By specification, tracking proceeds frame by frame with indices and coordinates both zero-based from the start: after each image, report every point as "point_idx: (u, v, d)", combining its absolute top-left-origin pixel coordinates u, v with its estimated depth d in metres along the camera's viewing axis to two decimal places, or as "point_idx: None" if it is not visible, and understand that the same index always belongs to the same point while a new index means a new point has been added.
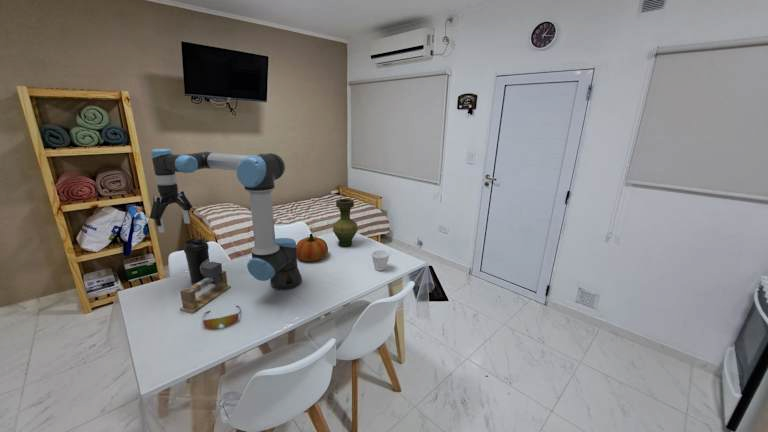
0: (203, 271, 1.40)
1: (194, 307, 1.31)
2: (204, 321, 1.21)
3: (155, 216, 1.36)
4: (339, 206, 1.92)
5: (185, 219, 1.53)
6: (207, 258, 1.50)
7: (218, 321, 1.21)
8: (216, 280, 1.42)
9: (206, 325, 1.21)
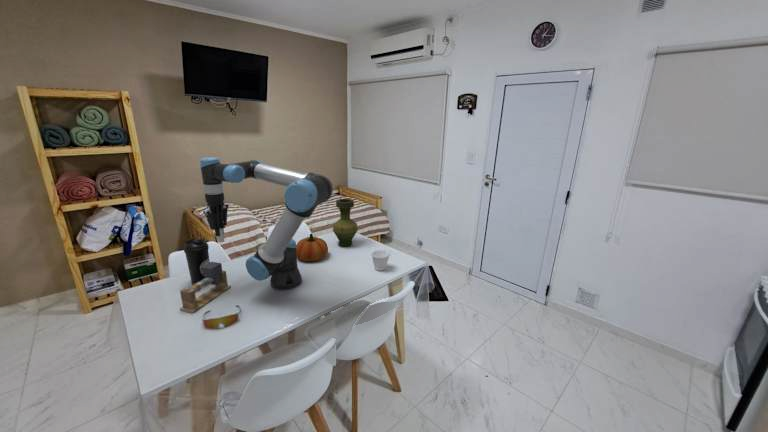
0: (203, 271, 1.40)
1: (194, 307, 1.31)
2: (204, 321, 1.21)
3: (215, 227, 1.40)
4: (339, 206, 1.92)
5: None
6: (207, 258, 1.50)
7: (218, 320, 1.21)
8: (216, 280, 1.42)
9: (206, 325, 1.21)
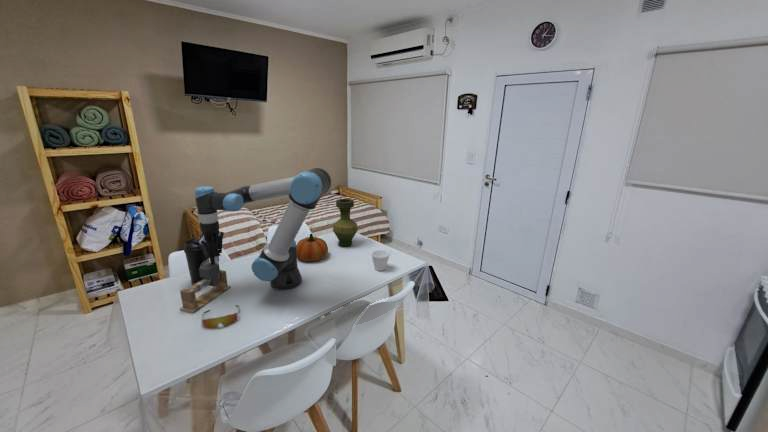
0: (201, 272, 1.38)
1: (194, 307, 1.31)
2: (203, 320, 1.21)
3: (210, 256, 1.39)
4: (339, 206, 1.92)
5: None
6: (207, 258, 1.50)
7: (217, 320, 1.21)
8: (214, 281, 1.41)
9: (206, 324, 1.21)
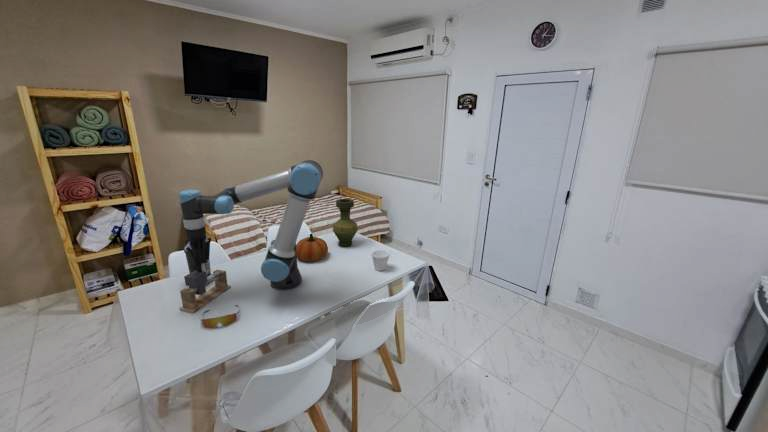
0: (186, 281, 1.31)
1: (194, 307, 1.31)
2: (202, 320, 1.21)
3: (196, 263, 1.32)
4: (339, 206, 1.92)
5: None
6: None
7: (216, 320, 1.21)
8: (200, 290, 1.34)
9: (205, 324, 1.21)
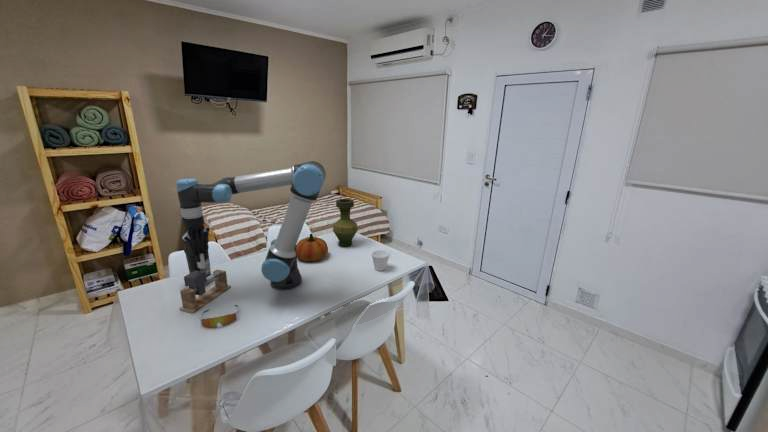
0: (186, 281, 1.31)
1: (194, 307, 1.31)
2: (202, 320, 1.21)
3: (194, 253, 1.30)
4: (339, 206, 1.92)
5: None
6: (207, 258, 1.50)
7: (215, 320, 1.21)
8: (200, 290, 1.33)
9: (204, 324, 1.22)
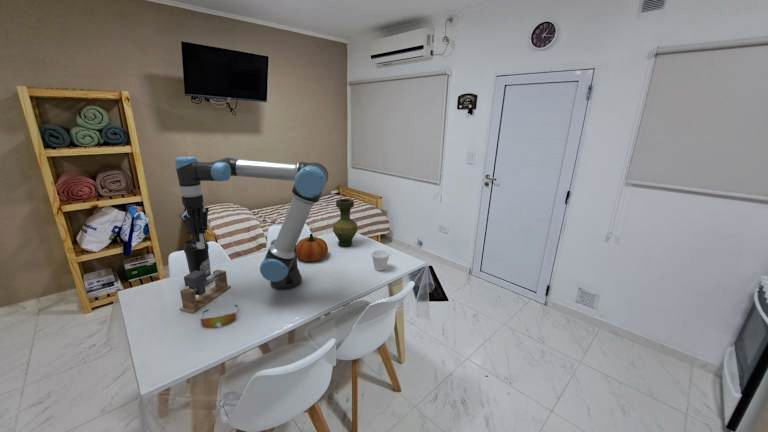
0: (186, 281, 1.31)
1: (194, 307, 1.31)
2: (202, 320, 1.21)
3: (194, 232, 1.28)
4: (339, 206, 1.92)
5: None
6: (207, 258, 1.50)
7: (215, 320, 1.21)
8: (200, 290, 1.33)
9: (204, 324, 1.22)
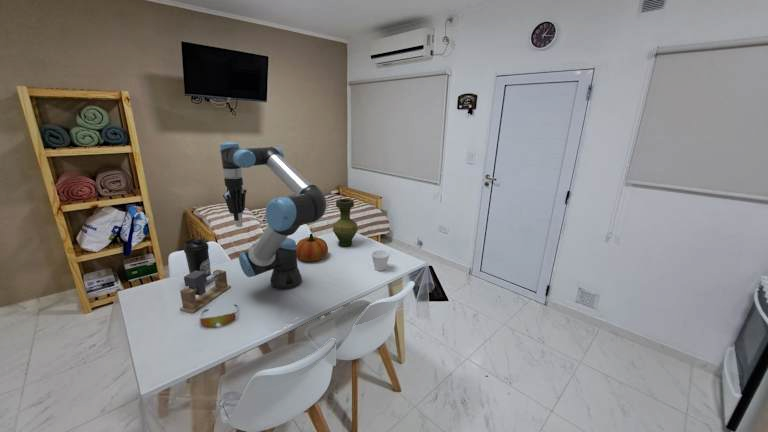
0: (186, 281, 1.31)
1: (194, 307, 1.31)
2: (201, 319, 1.22)
3: (234, 211, 1.42)
4: (339, 206, 1.92)
5: None
6: (207, 258, 1.50)
7: (215, 319, 1.21)
8: (200, 290, 1.33)
9: (204, 323, 1.22)
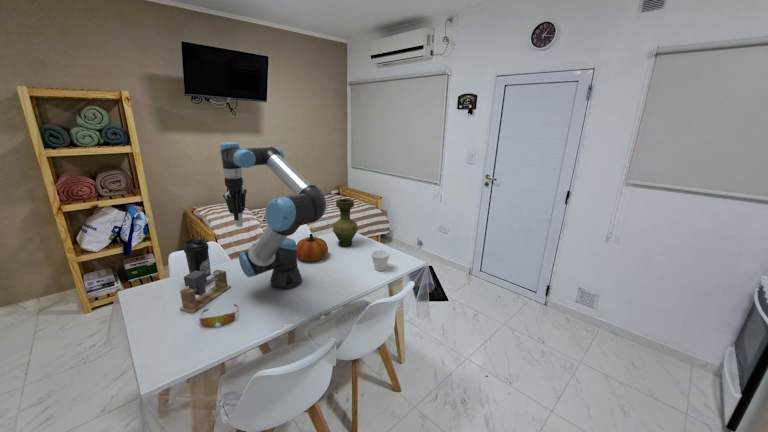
0: (186, 281, 1.31)
1: (194, 307, 1.31)
2: (201, 319, 1.22)
3: (234, 211, 1.42)
4: (339, 206, 1.92)
5: None
6: (207, 258, 1.50)
7: (214, 319, 1.21)
8: (200, 290, 1.33)
9: (203, 323, 1.22)
